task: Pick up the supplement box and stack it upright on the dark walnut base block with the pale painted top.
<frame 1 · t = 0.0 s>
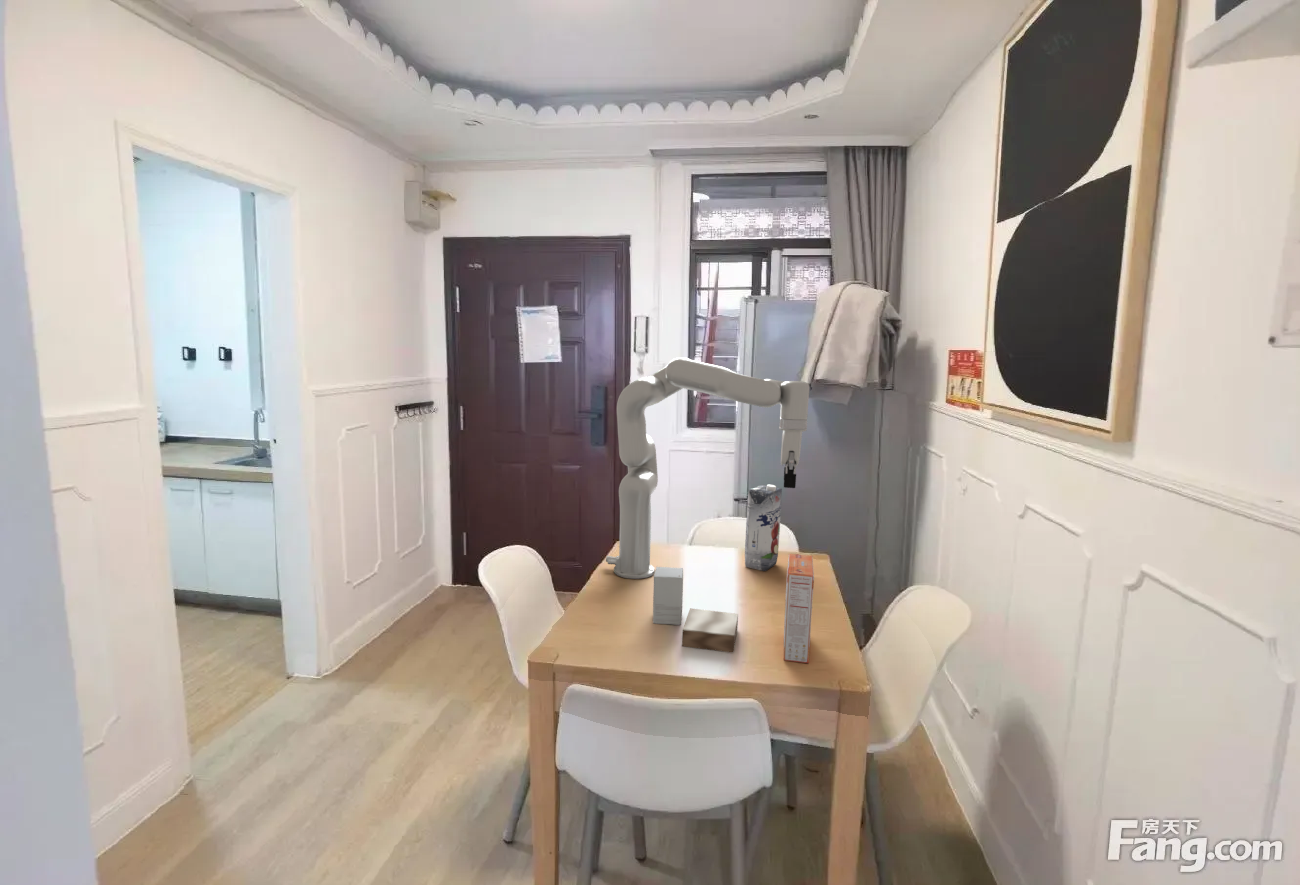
hand: (789, 484, 179), 31 cm above the table, fingers open, 9 cm apart
cracker box: (795, 649, 147), on the table
juice carton: (760, 566, 202), on the table
supplement box: (667, 619, 161), on the table
base block: (710, 638, 151), on the table
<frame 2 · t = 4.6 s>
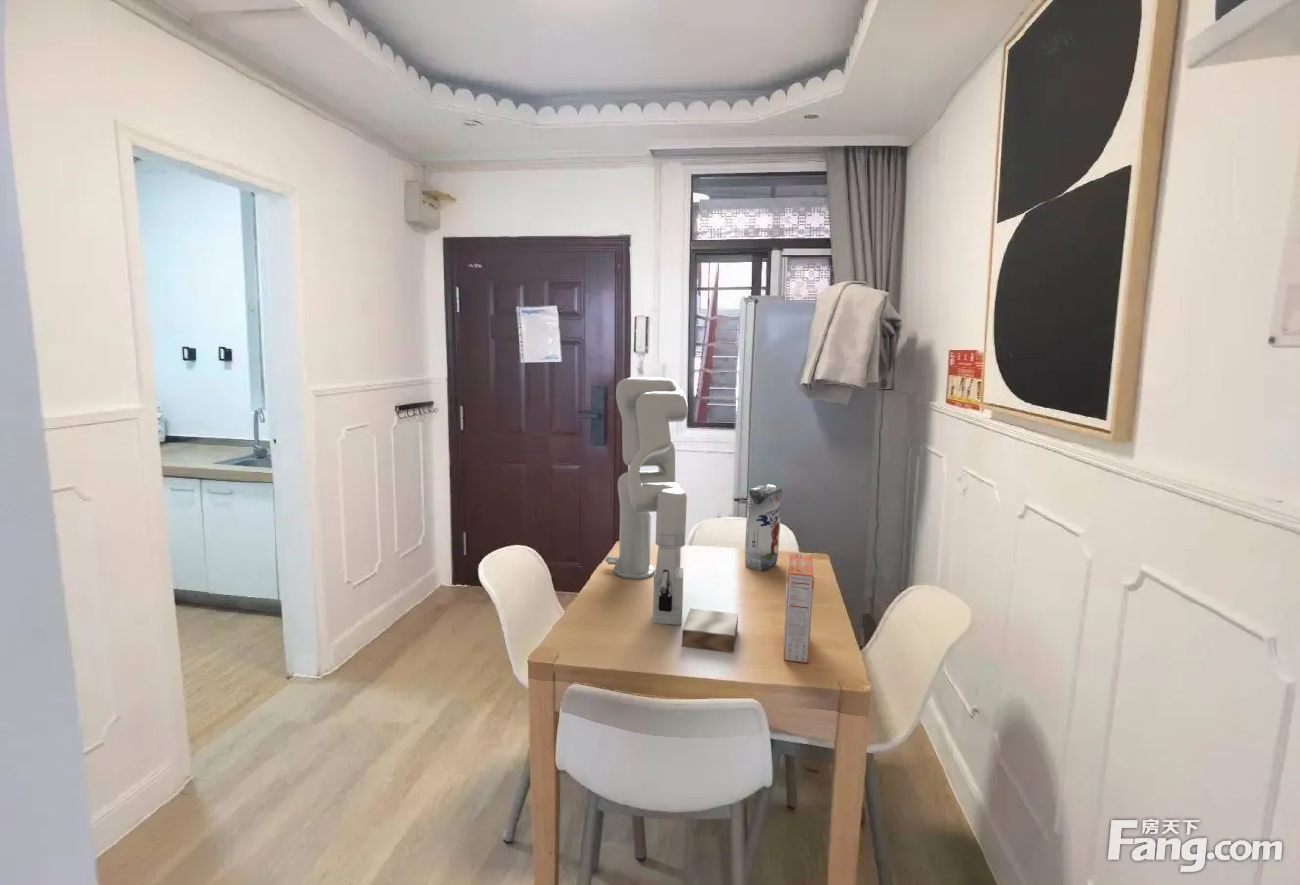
hand: (668, 603, 160), 4 cm above the table, fingers closed on supplement box, 7 cm apart
supplement box: (667, 619, 161), on the table, touching gripper
everything else where it was.
when the fingers open (10 cm above the table, at t = 10.0 s): supplement box drops 1 cm, resting on base block.
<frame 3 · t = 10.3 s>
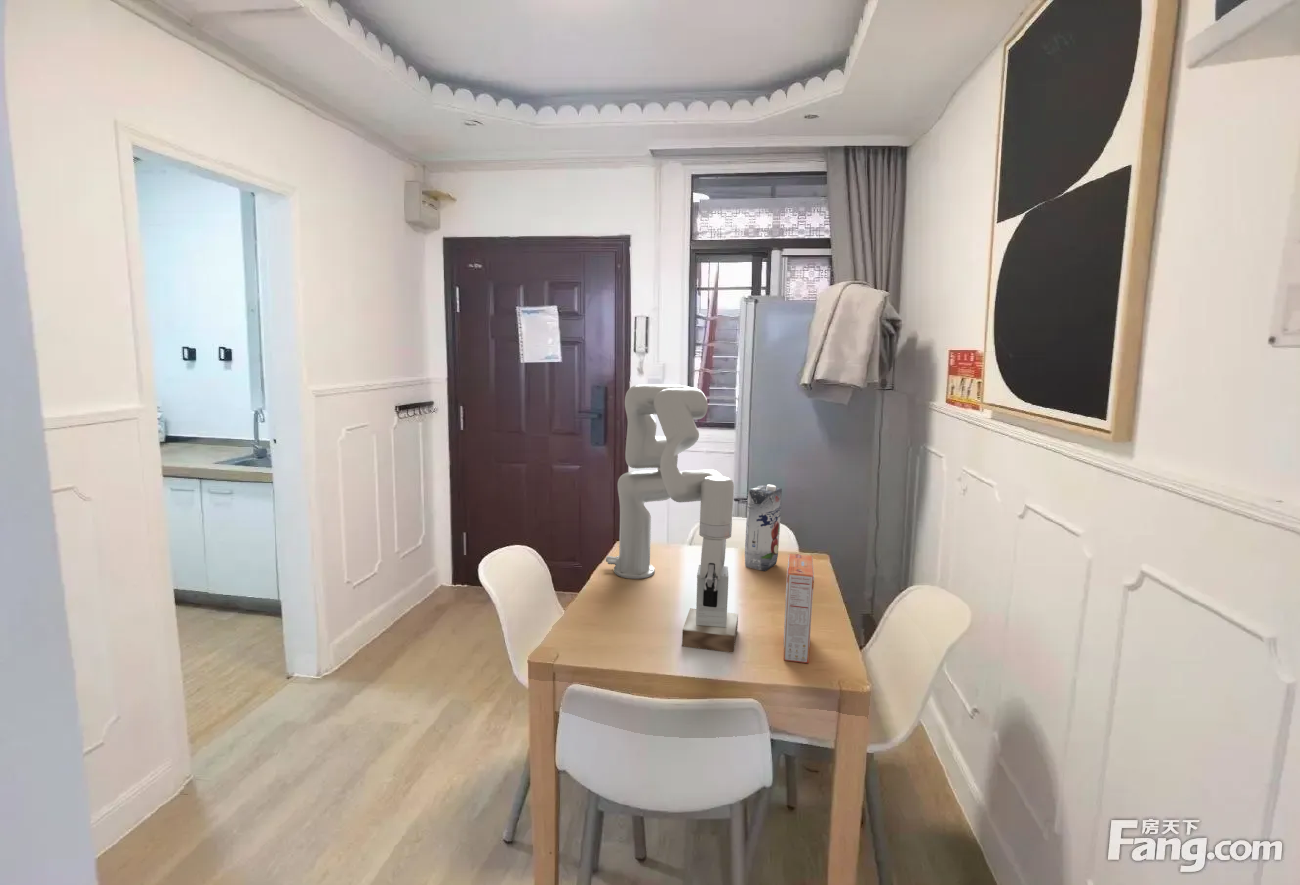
hand: (712, 598, 149), 10 cm above the table, fingers open, 9 cm apart
supplement box: (711, 621, 150), point 4 cm above the table, touching base block
everything else where it was.
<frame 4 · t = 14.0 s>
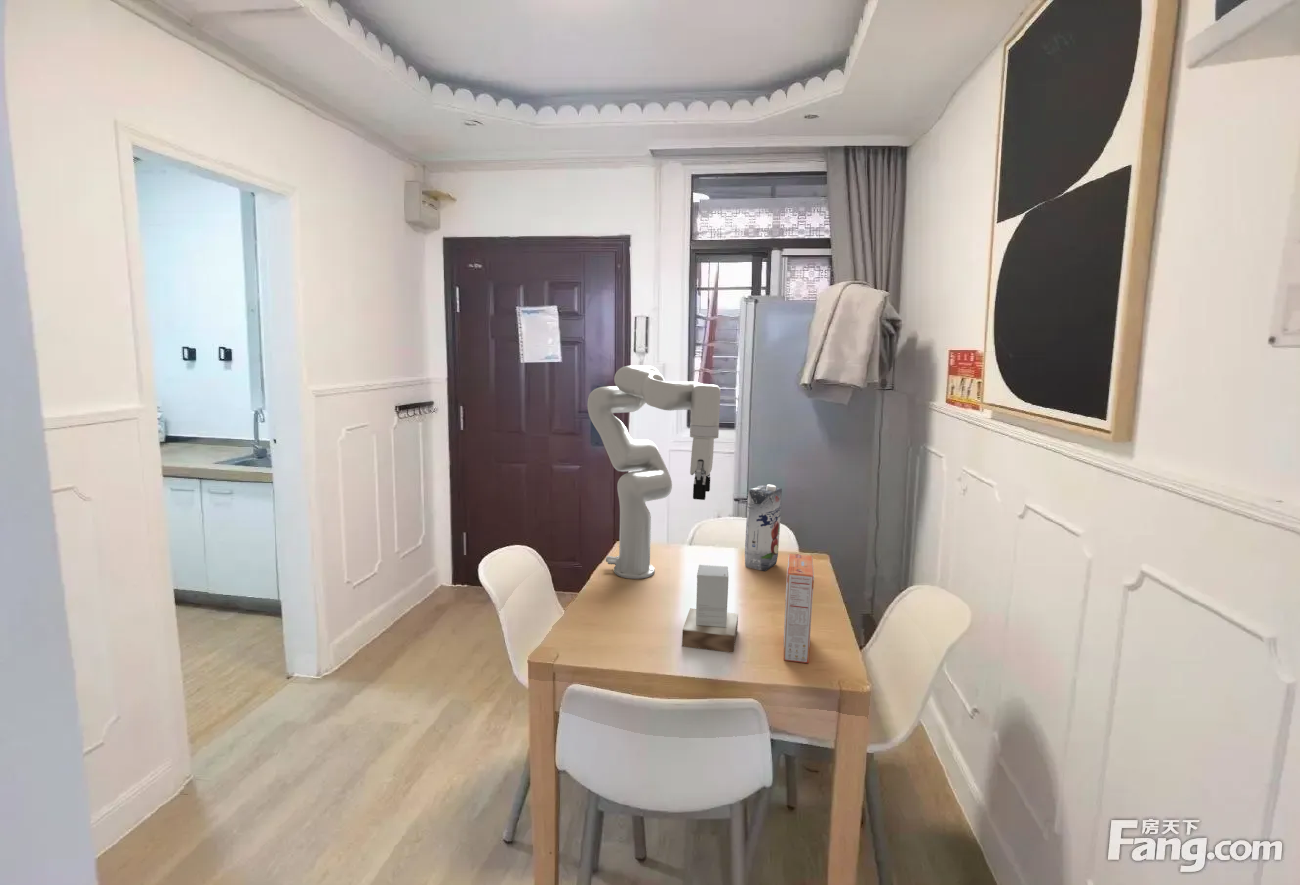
hand: (701, 495, 167), 30 cm above the table, fingers open, 9 cm apart
nothing on the table moved.
at the end: supplement box inside the target area on the base block (0.4 cm from its centre), point 4.1 cm above the base block's base; supplement box tilted 0°; the gripper is holding nothing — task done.
